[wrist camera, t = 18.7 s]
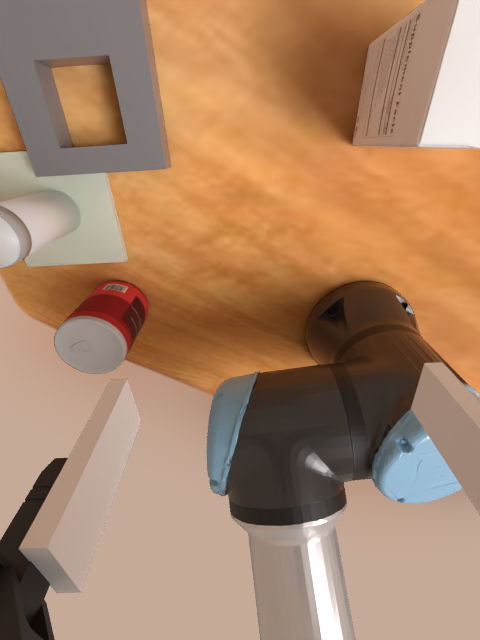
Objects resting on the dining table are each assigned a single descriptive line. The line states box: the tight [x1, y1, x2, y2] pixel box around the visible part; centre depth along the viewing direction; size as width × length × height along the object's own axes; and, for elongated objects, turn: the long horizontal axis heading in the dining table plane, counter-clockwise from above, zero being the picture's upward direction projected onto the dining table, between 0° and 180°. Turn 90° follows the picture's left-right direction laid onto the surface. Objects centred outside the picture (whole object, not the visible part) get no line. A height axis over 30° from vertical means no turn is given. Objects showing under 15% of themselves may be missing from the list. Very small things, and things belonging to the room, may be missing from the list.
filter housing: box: [0, 0, 171, 177], centre depth 28 cm, size 22×14×3 cm, turn 3°
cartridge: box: [0, 190, 81, 268], centre depth 31 cm, size 5×5×12 cm
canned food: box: [54, 281, 148, 374], centre depth 39 cm, size 8×8×11 cm
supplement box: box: [353, 0, 480, 149], centre depth 25 cm, size 9×9×15 cm
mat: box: [0, 151, 128, 267], centre depth 37 cm, size 13×13×1 cm
